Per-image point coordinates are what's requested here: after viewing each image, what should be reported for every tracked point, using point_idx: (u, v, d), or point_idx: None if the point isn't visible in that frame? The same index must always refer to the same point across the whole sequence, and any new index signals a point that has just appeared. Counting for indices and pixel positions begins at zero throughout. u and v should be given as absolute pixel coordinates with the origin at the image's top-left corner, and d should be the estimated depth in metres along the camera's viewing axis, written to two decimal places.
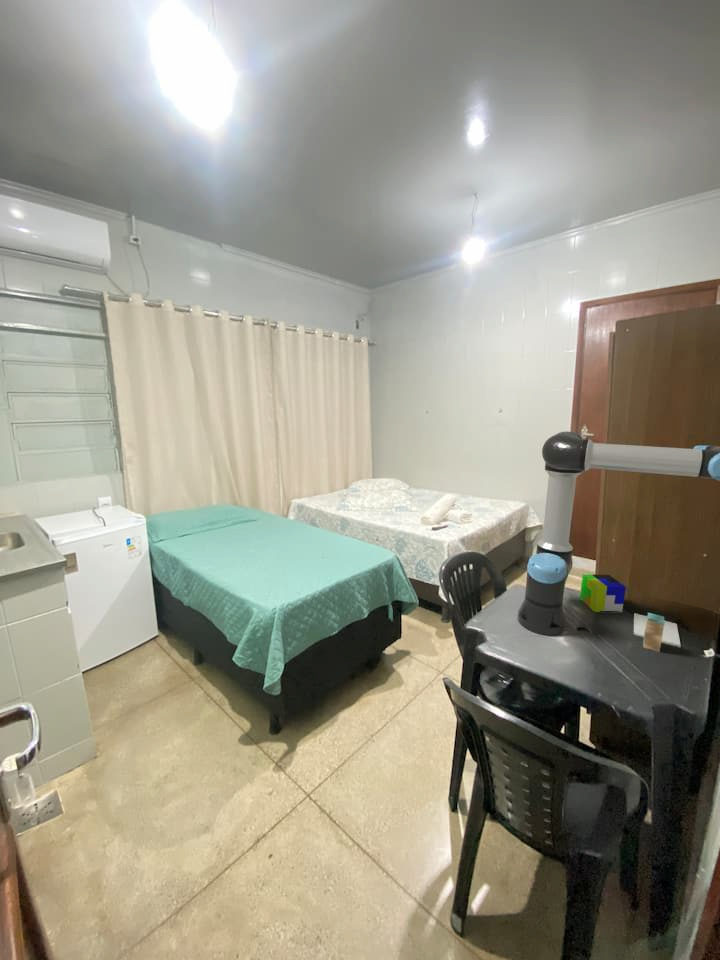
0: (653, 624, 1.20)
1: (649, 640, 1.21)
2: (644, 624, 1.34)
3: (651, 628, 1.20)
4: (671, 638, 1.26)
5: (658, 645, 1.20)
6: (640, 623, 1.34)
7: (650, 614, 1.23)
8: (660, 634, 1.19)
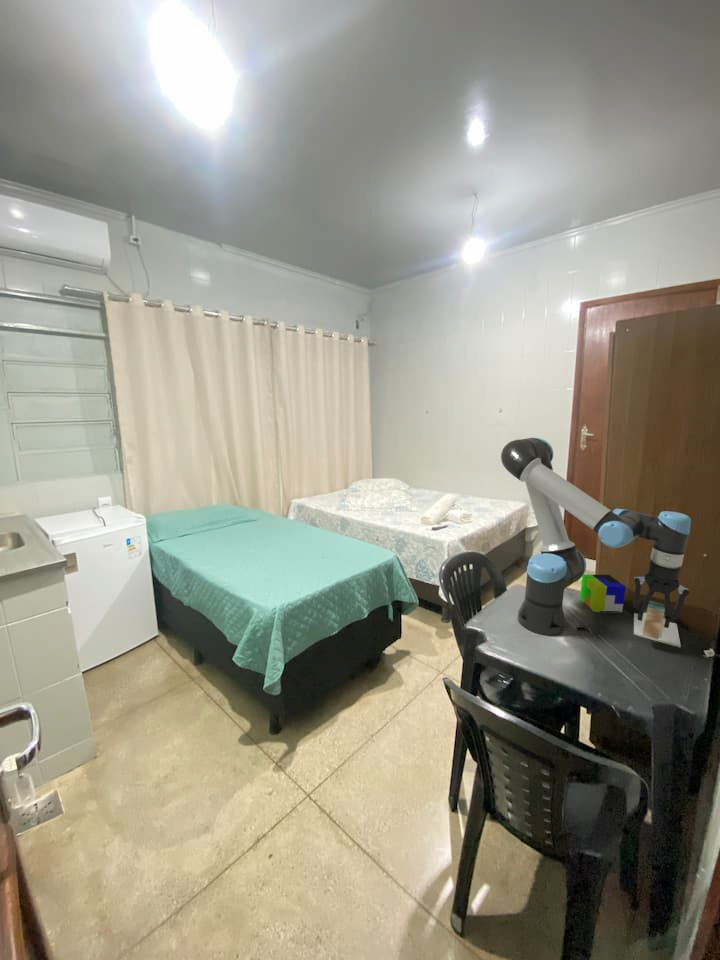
0: (653, 611, 1.20)
1: (648, 627, 1.21)
2: None
3: (651, 615, 1.20)
4: (671, 638, 1.26)
5: (657, 632, 1.20)
6: (640, 623, 1.34)
7: (650, 601, 1.22)
8: (660, 621, 1.19)
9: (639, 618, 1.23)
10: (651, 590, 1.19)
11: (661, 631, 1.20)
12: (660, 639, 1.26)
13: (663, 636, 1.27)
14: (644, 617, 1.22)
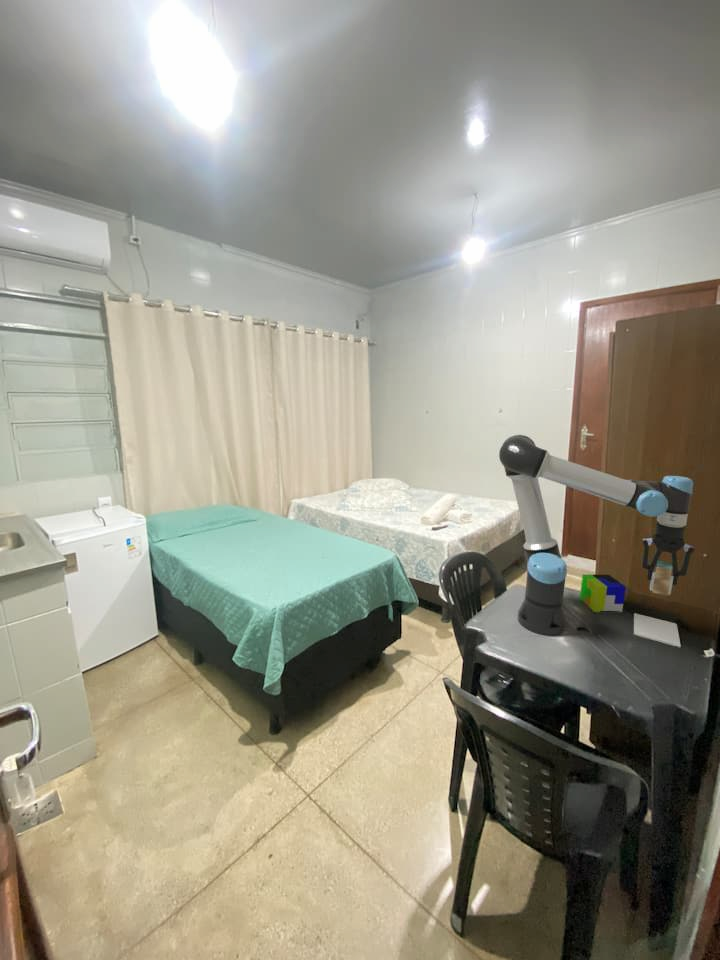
0: (661, 570, 1.29)
1: (658, 585, 1.30)
2: (644, 624, 1.34)
3: (660, 573, 1.29)
4: (671, 638, 1.26)
5: (666, 589, 1.29)
6: (640, 623, 1.34)
7: (658, 561, 1.31)
8: (668, 579, 1.28)
9: (648, 577, 1.32)
10: (659, 550, 1.28)
11: (670, 588, 1.29)
12: (660, 639, 1.26)
13: (663, 636, 1.27)
14: (653, 576, 1.31)
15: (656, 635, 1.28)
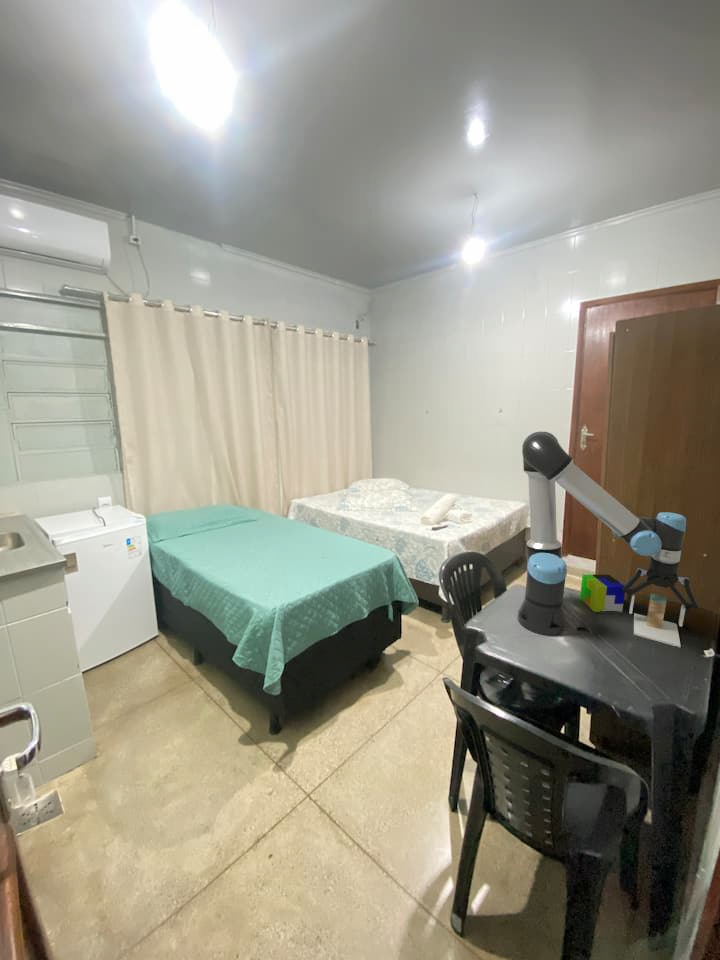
0: (656, 603, 1.31)
1: (652, 618, 1.32)
2: (644, 624, 1.34)
3: (654, 607, 1.31)
4: (671, 638, 1.26)
5: (660, 623, 1.31)
6: (640, 623, 1.34)
7: (653, 595, 1.34)
8: (662, 612, 1.30)
9: (628, 601, 1.37)
10: (649, 582, 1.31)
11: (681, 620, 1.28)
12: (660, 639, 1.26)
13: (663, 636, 1.27)
14: (632, 600, 1.35)
15: (656, 635, 1.28)
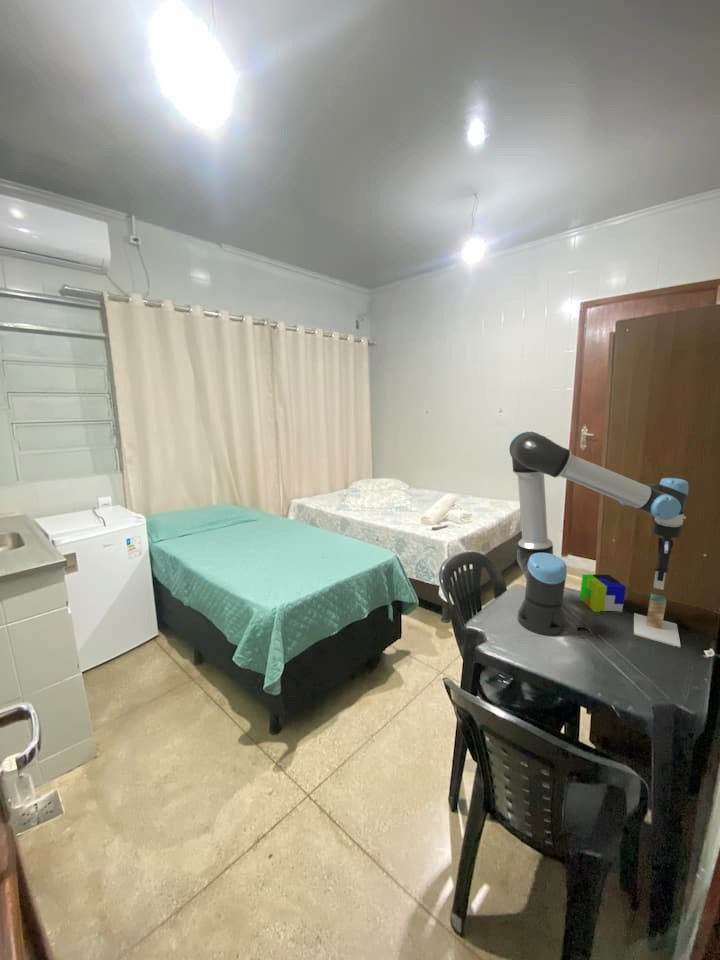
0: (656, 603, 1.31)
1: (652, 618, 1.32)
2: (644, 624, 1.34)
3: (654, 607, 1.31)
4: (671, 638, 1.26)
5: (660, 623, 1.31)
6: (640, 623, 1.34)
7: (653, 595, 1.34)
8: (662, 612, 1.30)
9: (662, 579, 1.36)
10: None
11: None
12: (660, 639, 1.26)
13: (663, 636, 1.27)
14: (665, 575, 1.36)
15: (656, 635, 1.28)
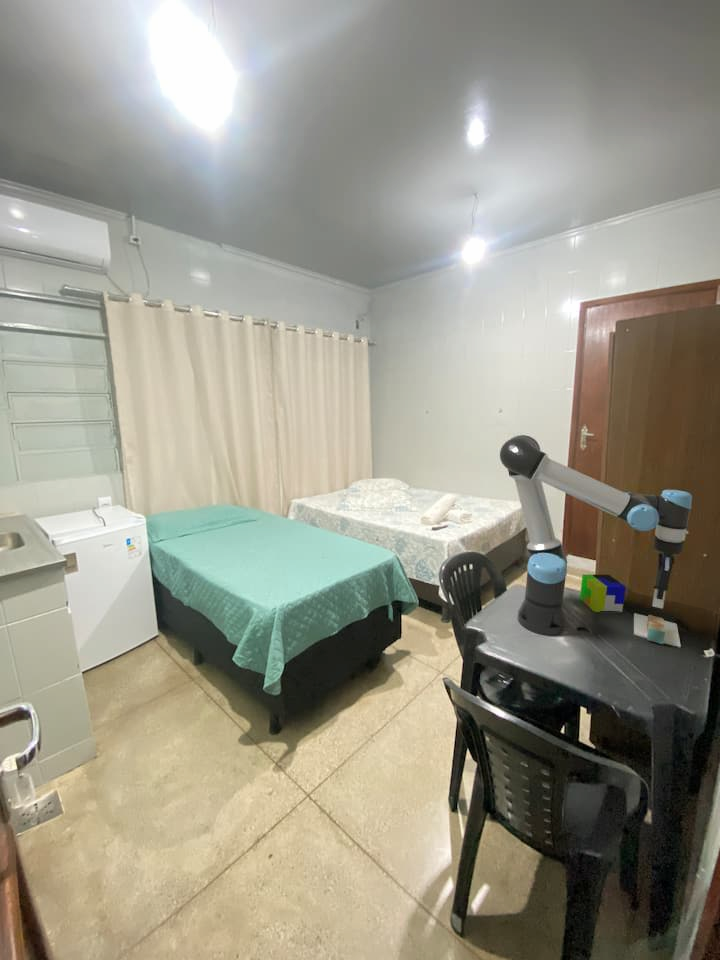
0: None
1: None
2: (644, 624, 1.34)
3: None
4: (671, 638, 1.26)
5: None
6: (640, 623, 1.34)
7: (651, 631, 1.24)
8: None
9: (662, 597, 1.27)
10: None
11: (663, 601, 1.29)
12: None
13: None
14: None
15: None
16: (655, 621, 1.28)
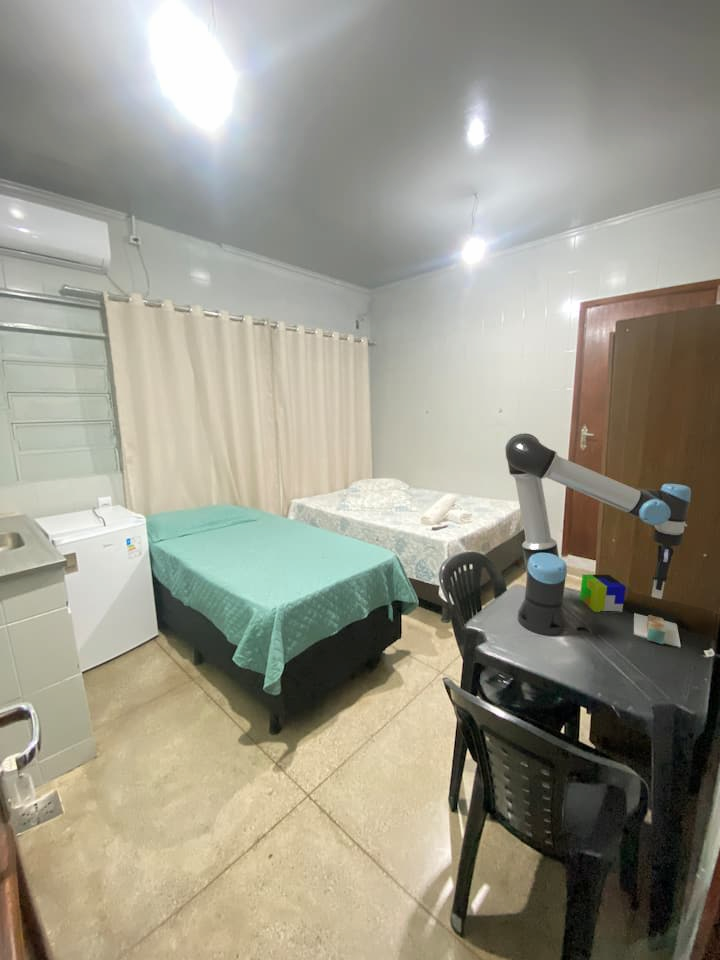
0: None
1: None
2: (644, 624, 1.34)
3: None
4: (671, 638, 1.26)
5: None
6: (640, 623, 1.34)
7: (651, 631, 1.24)
8: None
9: (661, 588, 1.31)
10: (670, 559, 1.29)
11: (662, 591, 1.33)
12: None
13: None
14: None
15: None
16: (655, 621, 1.28)
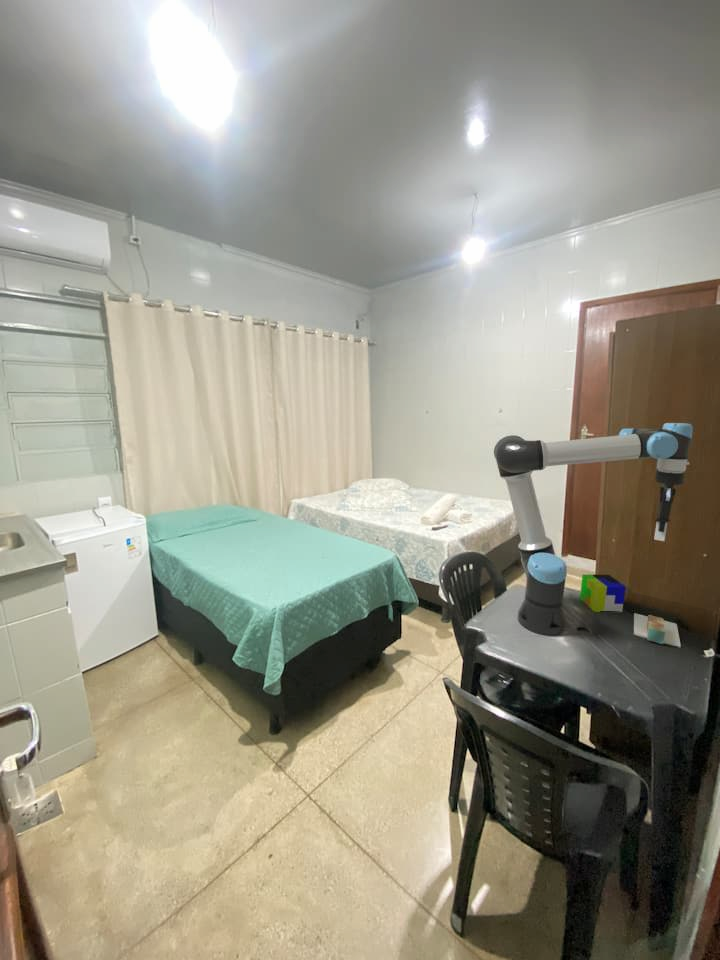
0: None
1: None
2: (644, 624, 1.34)
3: None
4: (671, 638, 1.26)
5: None
6: (640, 623, 1.34)
7: (651, 631, 1.24)
8: None
9: (664, 530, 1.30)
10: None
11: None
12: None
13: None
14: (666, 526, 1.31)
15: None
16: (655, 621, 1.28)
